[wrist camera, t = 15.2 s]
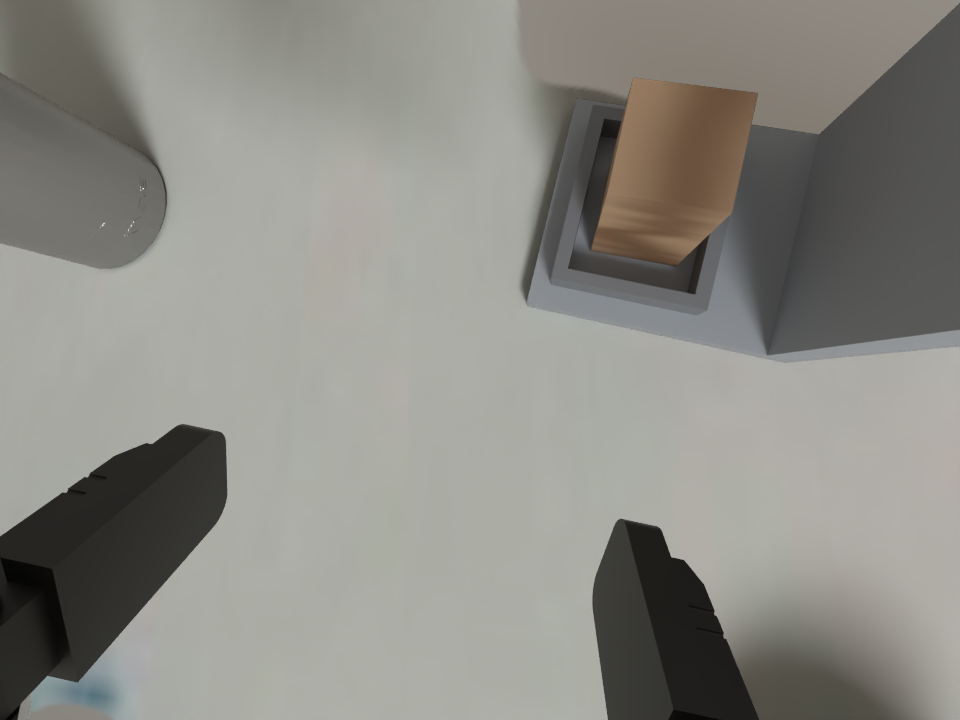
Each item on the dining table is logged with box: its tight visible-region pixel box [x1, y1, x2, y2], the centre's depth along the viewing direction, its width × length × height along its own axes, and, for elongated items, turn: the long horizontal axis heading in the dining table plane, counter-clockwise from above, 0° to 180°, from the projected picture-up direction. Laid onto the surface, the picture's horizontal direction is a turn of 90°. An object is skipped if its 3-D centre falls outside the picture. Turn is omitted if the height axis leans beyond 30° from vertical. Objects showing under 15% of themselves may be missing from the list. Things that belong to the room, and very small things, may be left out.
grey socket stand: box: [527, 3, 960, 363], centre depth 19 cm, size 16×13×21 cm
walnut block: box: [591, 78, 758, 267], centre depth 24 cm, size 5×6×9 cm
